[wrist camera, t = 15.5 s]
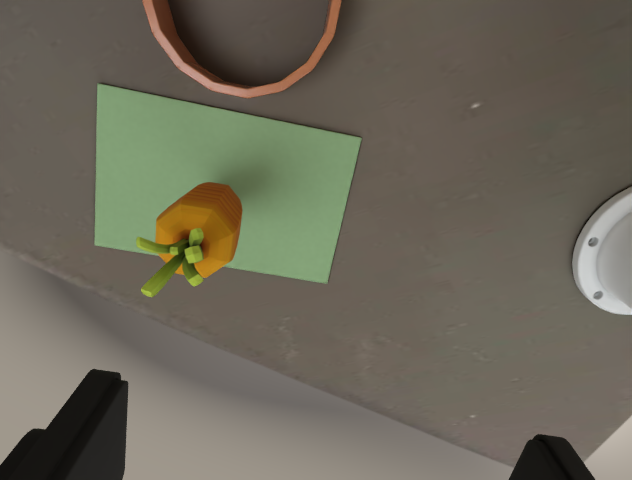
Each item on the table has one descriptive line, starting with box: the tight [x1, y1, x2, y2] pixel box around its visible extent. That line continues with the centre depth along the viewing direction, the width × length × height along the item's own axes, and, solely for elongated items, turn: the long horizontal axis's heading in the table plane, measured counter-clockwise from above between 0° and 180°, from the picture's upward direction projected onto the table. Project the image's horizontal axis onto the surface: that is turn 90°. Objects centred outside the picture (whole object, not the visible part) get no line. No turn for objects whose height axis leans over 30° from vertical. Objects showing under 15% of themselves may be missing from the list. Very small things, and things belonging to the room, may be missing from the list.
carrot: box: [136, 182, 243, 297], centre depth 27 cm, size 5×5×15 cm
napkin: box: [95, 84, 362, 284], centre depth 34 cm, size 20×13×1 cm, turn 78°
